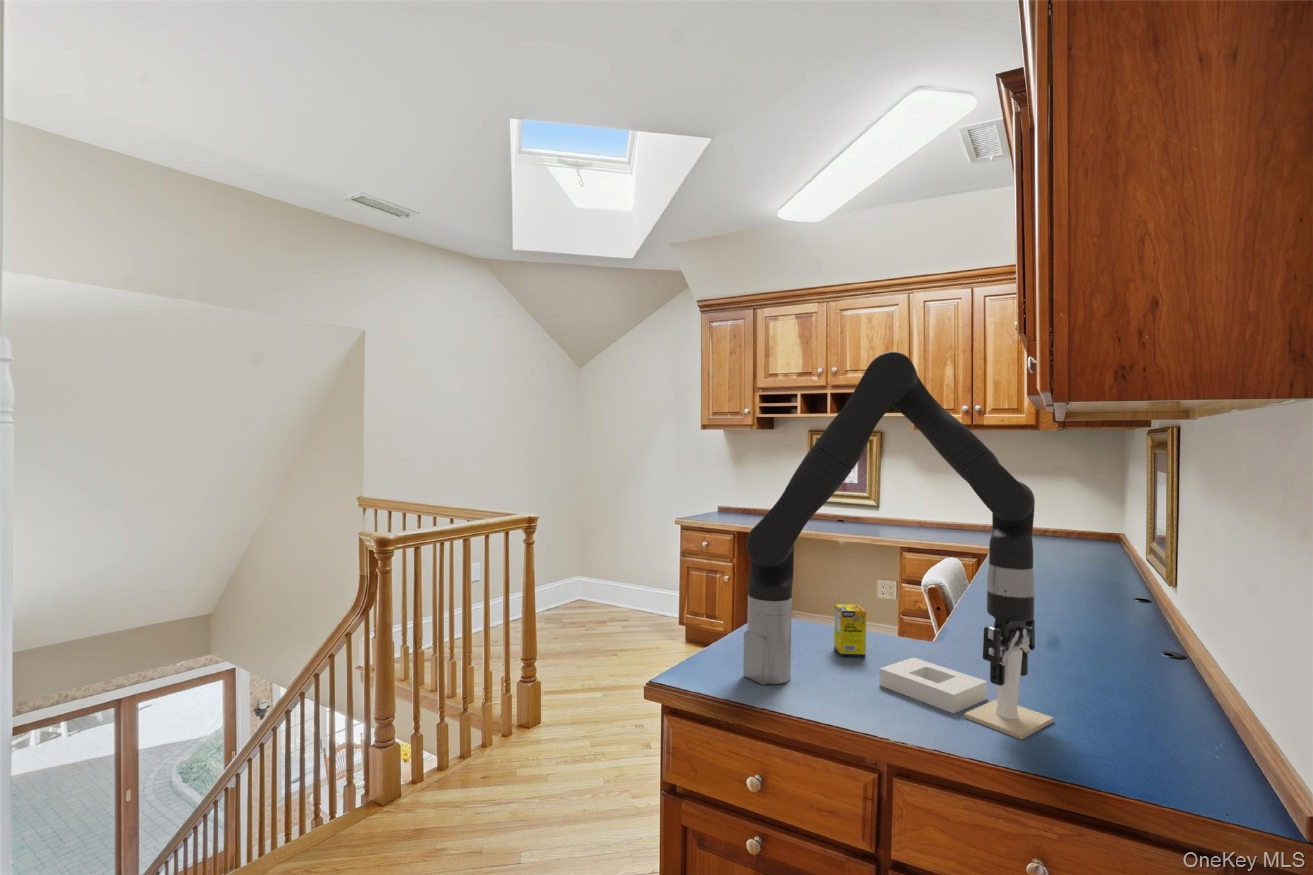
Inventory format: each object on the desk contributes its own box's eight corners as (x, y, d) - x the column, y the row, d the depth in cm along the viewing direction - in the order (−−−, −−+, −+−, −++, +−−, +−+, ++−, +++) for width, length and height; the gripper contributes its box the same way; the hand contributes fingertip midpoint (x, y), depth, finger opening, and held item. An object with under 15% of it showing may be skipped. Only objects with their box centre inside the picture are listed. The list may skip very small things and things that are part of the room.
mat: (1021, 739, 107) (1021, 734, 107) (964, 717, 115) (964, 713, 115) (1053, 721, 114) (1053, 717, 114) (997, 702, 122) (997, 698, 122)
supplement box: (866, 657, 146) (866, 611, 146) (840, 657, 146) (841, 610, 146) (858, 649, 152) (859, 604, 152) (833, 648, 152) (834, 603, 152)
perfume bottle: (991, 716, 114) (992, 633, 114) (994, 708, 118) (995, 627, 118) (1020, 723, 111) (1022, 638, 112) (1022, 714, 115) (1023, 632, 115)
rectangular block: (953, 713, 117) (954, 694, 117) (879, 685, 130) (879, 668, 130) (986, 698, 124) (987, 681, 124) (913, 673, 137) (913, 657, 137)
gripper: (1012, 600, 107) (1011, 695, 107) (1050, 589, 116) (1049, 677, 116) (969, 591, 114) (968, 680, 114) (1008, 581, 122) (1007, 665, 122)
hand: (1009, 679), depth 115 cm, fingers open, 8 cm apart
